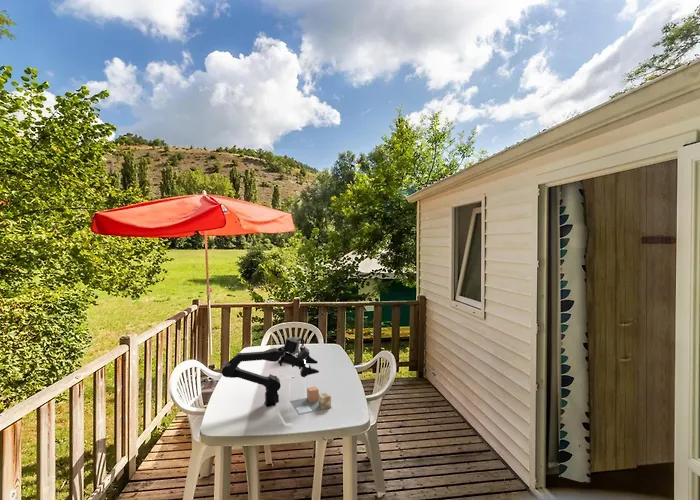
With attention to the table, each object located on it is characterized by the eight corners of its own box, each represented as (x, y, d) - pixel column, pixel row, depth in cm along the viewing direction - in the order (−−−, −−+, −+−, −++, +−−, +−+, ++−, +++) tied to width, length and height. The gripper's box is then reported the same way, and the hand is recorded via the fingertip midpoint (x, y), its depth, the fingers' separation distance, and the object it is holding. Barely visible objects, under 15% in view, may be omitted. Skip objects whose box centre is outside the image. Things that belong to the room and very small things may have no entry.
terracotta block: (309, 402, 201) (309, 391, 201) (307, 398, 206) (307, 387, 206) (318, 400, 203) (318, 389, 203) (315, 396, 208) (315, 386, 208)
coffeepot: (283, 359, 278) (283, 335, 278) (289, 355, 287) (289, 332, 287) (301, 361, 273) (301, 336, 272) (307, 357, 282) (307, 333, 281)
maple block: (321, 409, 192) (321, 397, 192) (318, 405, 197) (318, 394, 197) (331, 407, 194) (330, 396, 194) (327, 403, 199) (327, 392, 199)
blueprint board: (299, 416, 186) (299, 414, 186) (290, 402, 203) (289, 400, 203) (332, 409, 194) (332, 408, 194) (321, 396, 210) (321, 395, 210)
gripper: (297, 356, 194) (325, 364, 198) (296, 338, 212) (322, 346, 216) (290, 374, 196) (317, 381, 200) (289, 355, 214) (314, 362, 217)
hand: (318, 367), depth 208 cm, fingers open, 9 cm apart
